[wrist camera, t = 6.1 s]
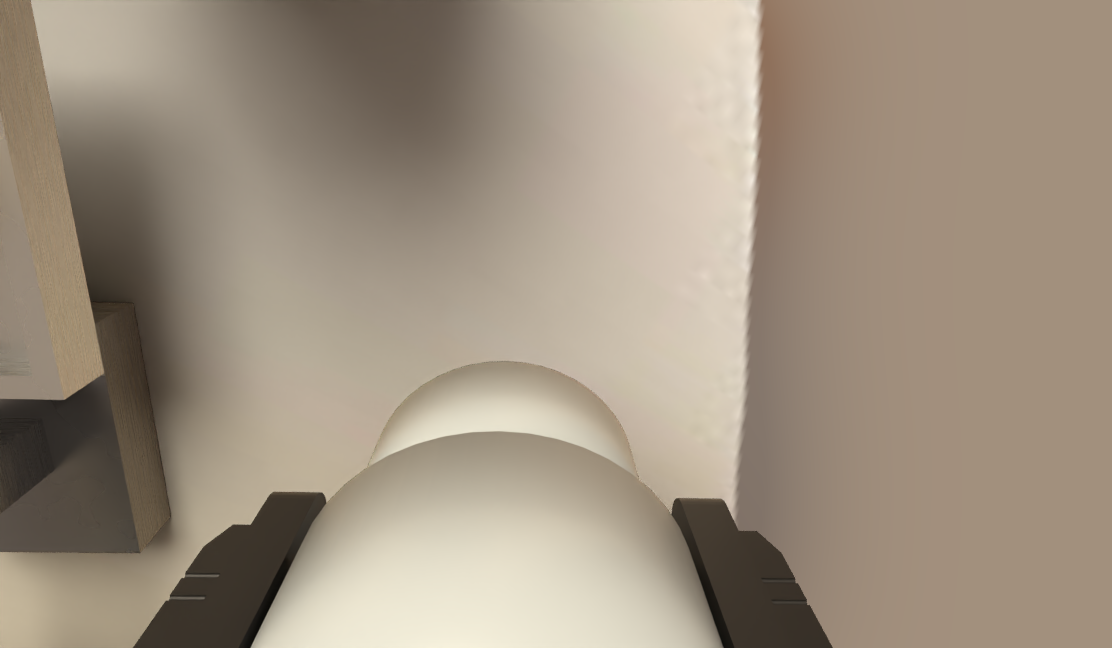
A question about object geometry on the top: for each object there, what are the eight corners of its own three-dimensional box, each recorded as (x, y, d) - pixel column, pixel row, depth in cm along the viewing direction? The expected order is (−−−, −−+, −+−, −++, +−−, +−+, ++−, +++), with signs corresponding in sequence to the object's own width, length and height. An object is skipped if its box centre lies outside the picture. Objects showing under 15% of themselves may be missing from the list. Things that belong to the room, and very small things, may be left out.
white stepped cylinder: (669, 344, 12) (894, 752, 4) (641, 603, 13) (767, 1178, 6) (340, 335, 11) (26, 758, 4) (359, 601, 13) (163, 1203, 6)
